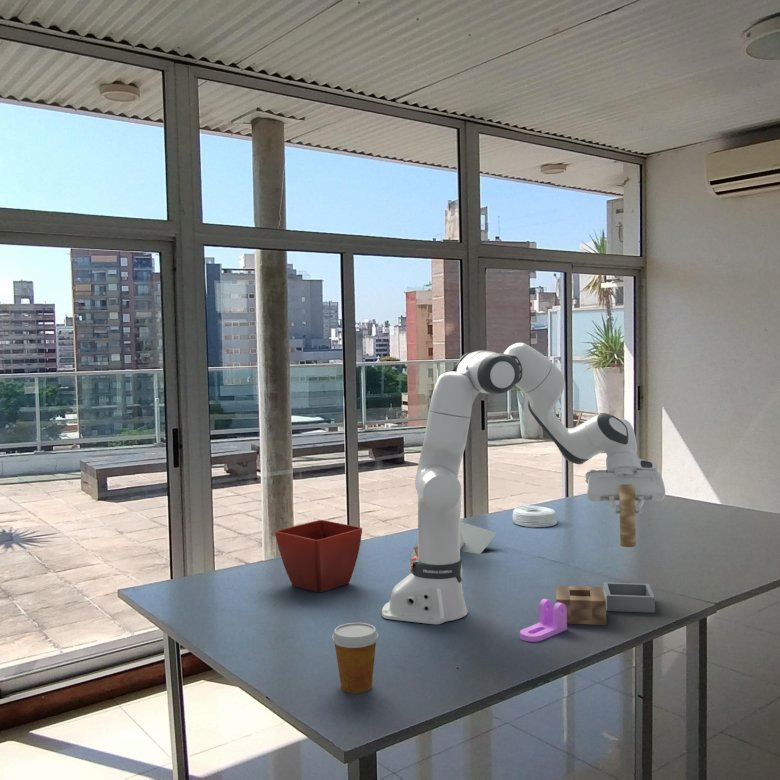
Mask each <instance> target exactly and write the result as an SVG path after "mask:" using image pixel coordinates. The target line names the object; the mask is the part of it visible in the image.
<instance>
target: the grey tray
mask: <svg viewBox="0 0 780 780" xmlns="http://www.w3.org/2000/svg"><path fill="white" fill-rule="evenodd" d="M603 591H604V595H605V599H606V612H628V613H629V612H630V613H632V612H633V613H656V597H655V595H654V592H653V590H652V588H651V586H650V583H638V582H637V583H635V582H633V583H632V582H631V583H630V582H607V581H606V582H603Z"/></svg>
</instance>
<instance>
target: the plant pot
mask: <svg viewBox="0 0 780 780" xmlns="http://www.w3.org/2000/svg"><path fill="white" fill-rule="evenodd" d="M274 533H275V539H276V543H277V547H278V551H279V555H280V557H281V560H282V564H283V567H284V569H285V571H286V573H287V576H288V579H289V581H290V583H291V585H292V586H293V587H297V588H300V589H304V590H307V591H310V592H314V593H318V594H319V593H323V592H327V591H329V590H332V589H335V588H338V587H341V586H344V585H347V584H349V583H350V582H351V579H352V576H353V573H354V571H355V567H356V563H357V561H358V556H359V551H360V547H361V542H362V534H363V527H360V526H355V525H350V524H346V523H339V522H334V521H330V520H329V521H328V520H325V519H321V520H320V519H319V520H314V521H310V522H306V523H302V524H299V525H294V526H290V527H286V528H282V529H277V530H275V532H274Z"/></svg>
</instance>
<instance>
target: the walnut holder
mask: <svg viewBox="0 0 780 780" xmlns="http://www.w3.org/2000/svg"><path fill="white" fill-rule="evenodd" d="M557 602H559V603H563V604H565V605H566V608H567V624H571V625H572V624H573V625H574V624H575V625H596V626H597V625H598V626H606V625H607V609H606V599H605V595H604V586H586V585H556V584H555V604H556V603H557Z"/></svg>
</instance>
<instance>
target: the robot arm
mask: <svg viewBox="0 0 780 780" xmlns="http://www.w3.org/2000/svg"><path fill="white" fill-rule="evenodd" d="M514 386H516V387H517V388H518V389H519V390H520V391H521V392H522V393H524V395H526V397H527V399H528V400H527V408H528V410H529V413H530V414H531V415H532V417H533V418H534V420H535V421H536V423H537V424H539V426H540V427H541V429H543V431H544V432H545V433H546V435H548V437H549V438H550V439H551V440H552V441H553V443H554V444H555V445H556V446H557V449H558V450H559V452H560V454H561V455H562V457H563V458H564V459H565V460H566V461H568V462H570V463H571V464H576V465H583V464H585V463H586V462H587V461H589V460H590V459H592V458H593V457H596V456H597V455H599V454H601V453H602V452H604V453H606V460H605V464H606V469H597V470H596V469H590V471H587V472H586V473H585V475H584V481H585V483H587V489H586V490H587V491H586V492H587V495H586V497H587V499H588V500H589V501H591V502H608V504H609V505H610V506H611V508H612V509H613V514H617V515H618V514H619V515H620V506H619V504H616V502H619V485H623V484H630V485H634V486H635V502H638V504H635V515H636V514H637V515H638V514H640V515H641V514H642V507H643V506H644V504H645V502H662V501H663V500H665V497H666V488H665V483H664V480H663V478H662V474H661V473H660V472H658V465H657V463H656V462H653V461H650V460H646V459H642V458H640V457H639V456H638V454H637V453H638V443H637V438H636V434H635V430H634V427H633V425H632V424H631V422H630V421H629V420H627V419H625V418H623V417H616V416H614V415H612V414H610V413H606V412H600V413H598V414H596V415H594V416H593V417H591V418H589V419H587V420H586V421H584V422H582V423H580V424H579V425H577V426H574V427H570V428H569V427H566V426H565V424H564V423H563V422H562V421H561V420H560V418H559V417H558V416H557V415H556V413H555V412H554V411H553V409H554V407H555V406H556V405H557V403H558V402H559V400H560V399H561V397H562V395H563V392H564V389H565V377H564V374H563V373H562V371H561V370H560V369H559V367H558V366H557V365H555V364H554V362H552V361H551V360H550V359H548V357H546V356H545V355H544V354H543V353H541V352H539V351H538V350H537V349H535V348H533V346H530V345H528V344H527V343H525V342H516V343H512V344H511V345H510V346H508V347H507V348H506V349H505V350H504V351H503V353H501V352H494V351H491V350H471V351H469V352H468V351H467V352H466V353H464V354H463V355H462V356H461V357H460V358H459V359H458V361H457V362H456V365H455V367H453V369H452V370H451V371H447V372H444V373H441V374H440V375H439V376H438V378H437V380H436V383H435V384H434V388H433V390H432V394H431V398H430V402H429V407H428V413H427V419H426V425H425V429H424V430H425V431H424V437H423V442H422V448H421V451H420V455H419V459H418V464H417V465H418V466H417V470H416V474H415V479H414V480H415V481H414V483H415V485H414V486H415V490H416V493H417V504H418V506H417V510H418V511H417V536H418V537H417V544H418V557H416V556H415V557H413V558H411V560H410V561H411V562H410V572H411V573H410V574H408V575H407V576H406V577H404V578H403V579H402V580H400V581H399V582H398V583H397V584H396V585H395V586H394V587H393V589H392V591H391V594H390V599H389V601H388V602H386V603H385V604H384V606H383V607H382V609H381V616H382V618H384V619H386V620H393V621H402V622H410V623H411V622H412V623H420V624H421V623H422V624H428V625H429V624H430V625H441V624H443V623H446V622H450V621H455V620H459V619H461V618H464V617H465V616H467V614H468V609H467V605H466V601H465V598H464V591H463V586H462V585H463V583H462V581H463V578H464V577H463V572H464V571H463V564H462V563H463V561H462V558H461V551H460V518H461V516H462V515H461V513H462V485H461V481H460V480H459V478H458V476H459V471H460V469H461V468H460V467H461V463H462V459H463V456H464V452H465V449H466V446H467V440H468V433H469V428H470V422H471V417H472V409H473V404H474V402H475V400H476V398H477V396H478V395H479V394H480V393H482V394H490V395H501V394H505V393H507V392H508V391H510V390H512V389H513V388H514Z"/></svg>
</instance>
